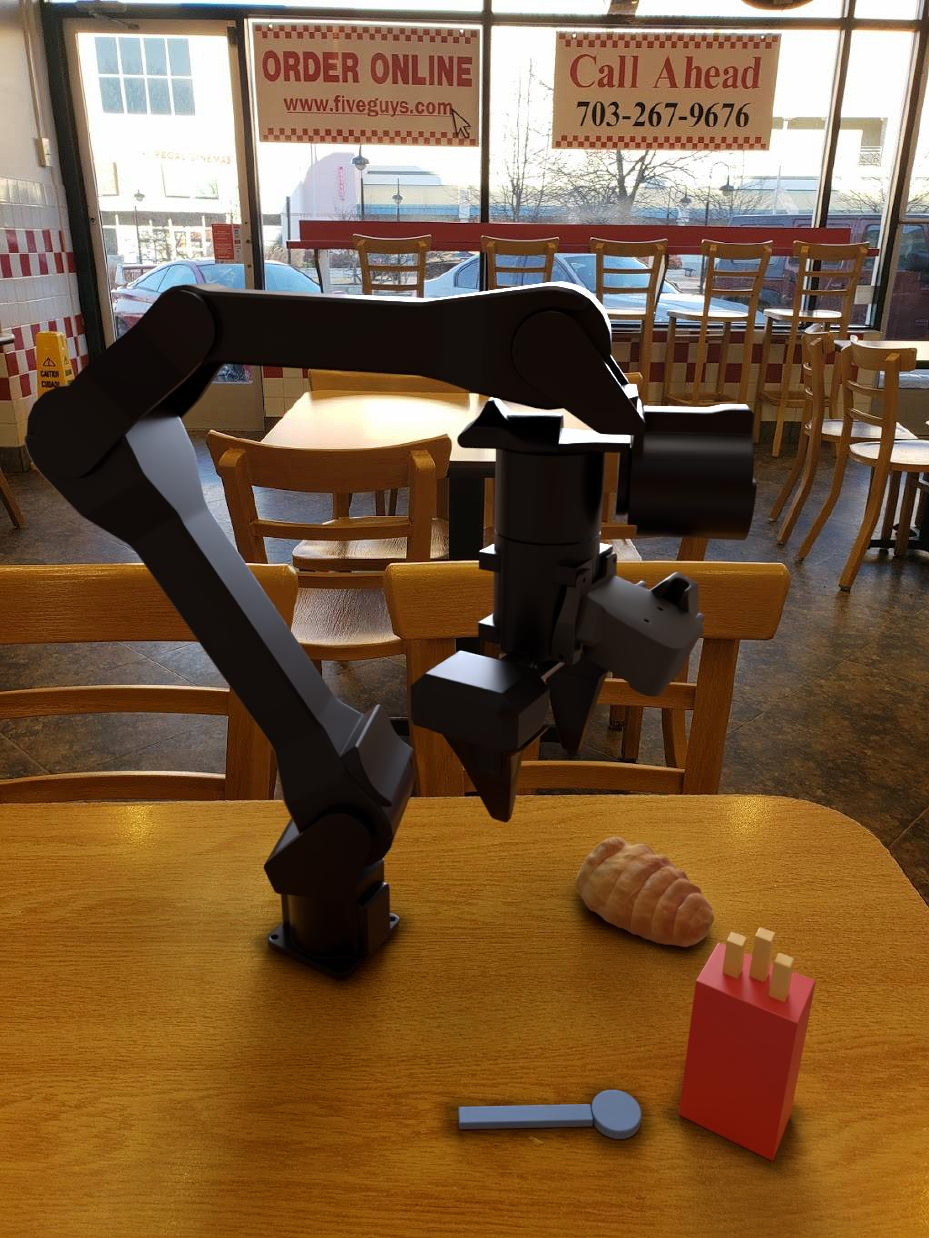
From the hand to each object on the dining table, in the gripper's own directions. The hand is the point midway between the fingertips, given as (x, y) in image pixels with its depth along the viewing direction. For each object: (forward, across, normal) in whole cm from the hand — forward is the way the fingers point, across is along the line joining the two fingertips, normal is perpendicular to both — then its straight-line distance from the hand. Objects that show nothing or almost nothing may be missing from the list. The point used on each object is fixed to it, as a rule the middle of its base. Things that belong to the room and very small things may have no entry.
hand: (538, 782), depth 56 cm
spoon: (+13, -10, -7) cm, 18 cm away
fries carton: (+13, -5, -15) cm, 20 cm away
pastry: (+13, +9, -4) cm, 16 cm away
